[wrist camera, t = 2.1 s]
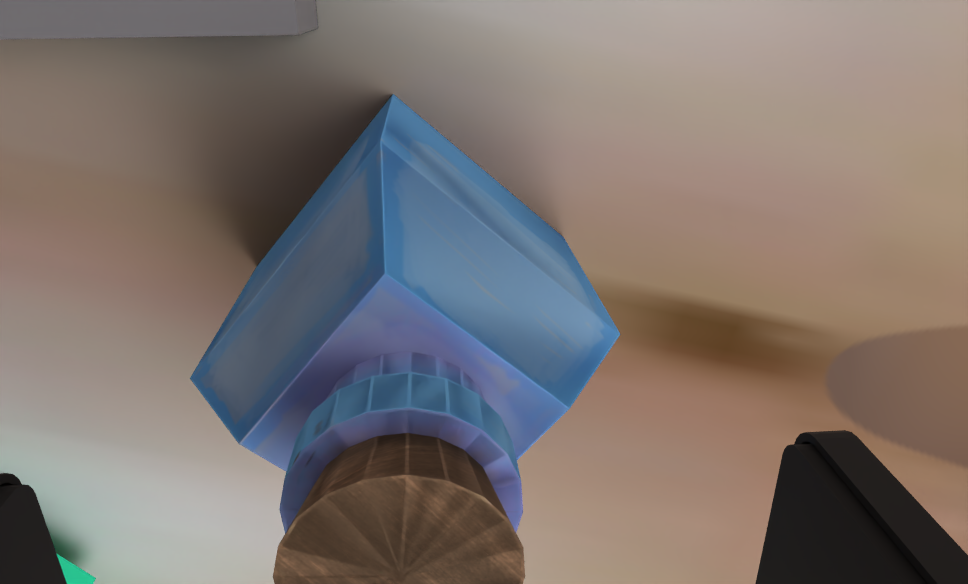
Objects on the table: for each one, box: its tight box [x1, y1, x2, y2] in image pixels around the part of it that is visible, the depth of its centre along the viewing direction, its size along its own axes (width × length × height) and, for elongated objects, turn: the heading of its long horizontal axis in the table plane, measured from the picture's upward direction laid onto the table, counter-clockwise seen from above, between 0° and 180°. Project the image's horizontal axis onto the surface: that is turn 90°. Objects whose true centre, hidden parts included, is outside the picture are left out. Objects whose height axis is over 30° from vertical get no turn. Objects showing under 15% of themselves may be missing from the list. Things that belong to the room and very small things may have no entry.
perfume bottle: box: [190, 94, 620, 584], centre depth 14 cm, size 6×6×12 cm
